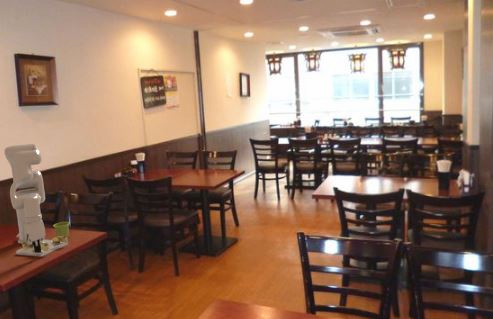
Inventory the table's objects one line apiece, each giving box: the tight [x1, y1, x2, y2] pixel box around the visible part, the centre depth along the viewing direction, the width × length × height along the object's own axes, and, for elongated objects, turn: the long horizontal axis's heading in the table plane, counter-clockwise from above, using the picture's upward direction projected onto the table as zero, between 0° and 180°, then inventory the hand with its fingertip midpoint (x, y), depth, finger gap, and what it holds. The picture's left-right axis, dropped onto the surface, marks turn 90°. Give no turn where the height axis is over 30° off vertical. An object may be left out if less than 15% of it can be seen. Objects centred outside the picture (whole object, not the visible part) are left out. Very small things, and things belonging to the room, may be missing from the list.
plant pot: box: [52, 221, 71, 238], centre depth 270 cm, size 9×9×9 cm
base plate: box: [15, 238, 69, 258], centre depth 250 cm, size 18×20×4 cm
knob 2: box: [51, 236, 69, 243], centre depth 254 cm, size 10×4×3 cm, turn 69°
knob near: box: [21, 241, 33, 249], centre depth 250 cm, size 10×4×3 cm, turn 159°
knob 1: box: [33, 244, 49, 251], centre depth 241 cm, size 10×4×3 cm, turn 69°
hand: (38, 252), depth 235 cm, fingers closed
